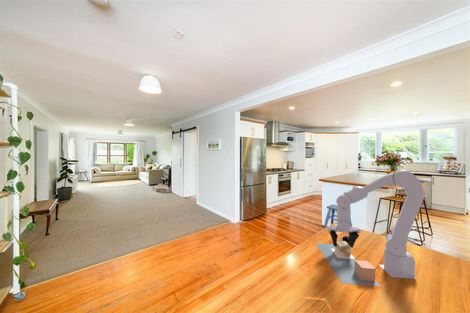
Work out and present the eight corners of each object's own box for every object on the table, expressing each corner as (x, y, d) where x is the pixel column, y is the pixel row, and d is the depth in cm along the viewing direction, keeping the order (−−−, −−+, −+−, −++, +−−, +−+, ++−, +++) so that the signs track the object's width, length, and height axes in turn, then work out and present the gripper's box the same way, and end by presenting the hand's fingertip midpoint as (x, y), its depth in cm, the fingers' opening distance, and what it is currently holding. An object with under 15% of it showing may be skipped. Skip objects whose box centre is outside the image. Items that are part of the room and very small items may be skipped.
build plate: (333, 241, 104) (333, 233, 104) (342, 239, 106) (343, 231, 106) (353, 253, 92) (353, 244, 92) (363, 250, 94) (363, 242, 94)
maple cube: (345, 250, 92) (345, 241, 91) (350, 256, 87) (350, 246, 86) (334, 250, 92) (335, 240, 92) (339, 256, 87) (339, 245, 87)
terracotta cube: (367, 272, 76) (367, 261, 75) (375, 281, 71) (375, 268, 70) (354, 271, 76) (354, 260, 76) (361, 280, 71) (361, 267, 71)
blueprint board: (341, 245, 98) (342, 244, 98) (380, 287, 68) (380, 285, 68) (315, 244, 99) (315, 242, 99) (341, 284, 70) (341, 282, 70)
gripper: (354, 216, 92) (353, 242, 92) (325, 215, 93) (324, 241, 94) (362, 222, 85) (362, 250, 85) (330, 220, 86) (330, 248, 87)
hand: (342, 246), depth 89 cm, fingers open, 7 cm apart
